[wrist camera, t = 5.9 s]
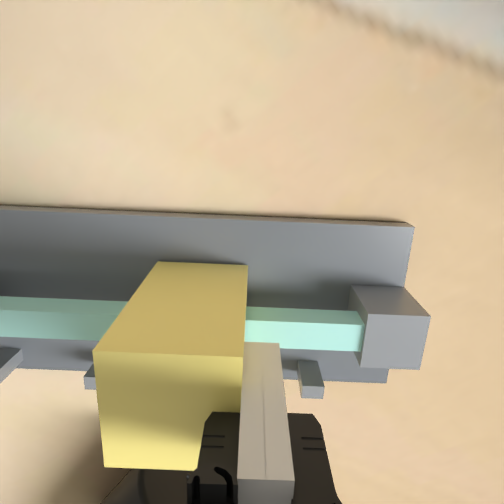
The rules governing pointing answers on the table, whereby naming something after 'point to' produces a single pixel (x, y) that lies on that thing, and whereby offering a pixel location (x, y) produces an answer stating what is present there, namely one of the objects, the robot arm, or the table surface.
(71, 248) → the comb rail
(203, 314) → the sleeve
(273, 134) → the table surface
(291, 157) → the table surface
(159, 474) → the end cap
